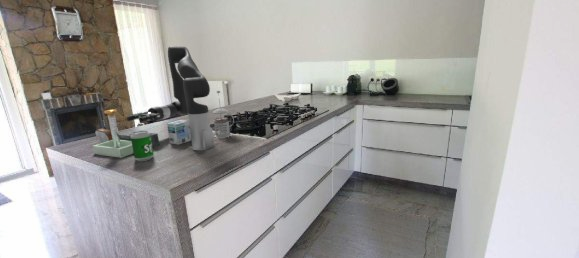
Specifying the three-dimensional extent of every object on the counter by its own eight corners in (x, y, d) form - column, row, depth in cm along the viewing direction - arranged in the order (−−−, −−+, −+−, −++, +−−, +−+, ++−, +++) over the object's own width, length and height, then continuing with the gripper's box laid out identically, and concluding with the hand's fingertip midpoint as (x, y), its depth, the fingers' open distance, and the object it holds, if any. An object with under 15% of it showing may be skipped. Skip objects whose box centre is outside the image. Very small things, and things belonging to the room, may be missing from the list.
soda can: (141, 163, 115) (136, 135, 112) (131, 160, 119) (126, 133, 116) (157, 157, 122) (153, 131, 119) (147, 154, 126) (143, 129, 123)
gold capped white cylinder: (126, 148, 133) (118, 109, 128) (117, 151, 128) (108, 111, 124) (119, 147, 134) (111, 109, 130) (110, 151, 130) (101, 111, 125)
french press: (215, 134, 156) (210, 90, 150) (235, 132, 158) (231, 88, 151) (212, 139, 147) (207, 92, 141) (234, 137, 148) (230, 90, 142)
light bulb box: (178, 145, 139) (175, 124, 136) (169, 143, 142) (166, 123, 139) (194, 139, 148) (192, 119, 145) (186, 138, 151) (183, 118, 148)
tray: (142, 149, 133) (140, 142, 132) (121, 157, 123) (119, 149, 122) (116, 146, 140) (114, 139, 139) (94, 153, 130) (92, 145, 129)
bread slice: (116, 146, 141) (113, 130, 139) (109, 147, 139) (106, 131, 137) (102, 142, 149) (99, 127, 147) (96, 143, 147) (92, 128, 145)
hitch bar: (159, 145, 140) (157, 133, 138) (147, 149, 134) (145, 137, 132) (128, 141, 148) (126, 130, 147) (116, 145, 142) (114, 134, 140)
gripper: (148, 106, 154) (122, 111, 139) (168, 106, 149) (142, 112, 134) (150, 119, 156) (124, 125, 141) (170, 120, 151) (145, 127, 136)
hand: (133, 119), depth 138 cm, fingers open, 8 cm apart
